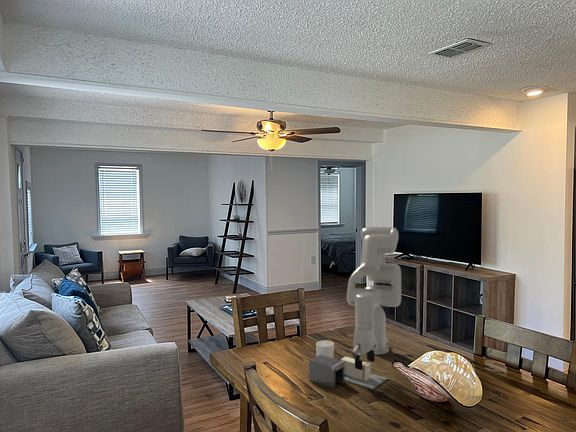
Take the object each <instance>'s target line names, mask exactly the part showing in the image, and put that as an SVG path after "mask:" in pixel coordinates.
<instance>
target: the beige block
mask: <svg viewBox="0 0 576 432" xmlns="http://www.w3.org/2000/svg"><path fill="white" fill-rule="evenodd" d="M339 360H341V361H345V376H351V377H354V378H357V379H361V380H364V381H367V380H368V379H370V378H371V374H372V371H371V370H372V366H371V365H372V363H371V362H367V361H364V360H362V368H363V369H362V370H359V369H356V368H355V359H354V357H353V358H352V357H350V356H344V357H342V358H341V359H339Z"/></svg>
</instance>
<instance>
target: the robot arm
mask: <svg viewBox="0 0 576 432" xmlns="http://www.w3.org/2000/svg"><path fill="white" fill-rule="evenodd" d="M360 237H361V241H362V244H361V253H360V254H361V257H360V265H359V266H358V267H357V268H356V269H355V270H354V271H353V272H352V273H351V275H350V277H349V279H348V282H347V288H346V289H347V291H346V301H347V304H348V305H349V306H352V307H354V308H355V310H354V311H355V312H354V314H355V315H354V317H355V318H354V319H355V322H354V323H355V326H354V327H355V329H354V333H353V342H352V343H353V344H352V346H353V349H352V351H351V352H352V357H353V359H355V368H356V369H359V370H362V369H363V368H362V361H363V356H364V355H365V354H366V360H367V361H369V362H370V363H371V362H372V363H375V360H376V359H375V355H378V356H380V355H385V354H387V353H389V351H390V348H389V347H388V346H387V343H389V338H387V337H386V333H387V332H386V331H387V330H386V328H387V327H386V321H387V319H386V317H387V316H386V313H385V310H384V309H383V308H382V307H392V308H395V307H396V308H397V307H400V305H401V302H402V269H401V266H400V265H399V264H398V263H394V262H393V263H391V262H386V254H394V253H395V252H396V250H397V246H398V242H399V231H398V229H397V228H396V227H392V226H390V227H389V226H387V227H386V226H367V227H363V228H362V229H361V231H360ZM364 277H367V280H368V281H369V282H371V283H379V284H380V283H381V284H390V285H391V286H390V285H379V284H378V285H377V284H373V285H372V284H371V285H367V286H366V287H365V288H361V287H356V284H357V282H358V281H359V280H361V279H362V278H364Z"/></svg>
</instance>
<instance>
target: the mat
mask: <svg viewBox="0 0 576 432" xmlns="http://www.w3.org/2000/svg"><path fill="white" fill-rule="evenodd" d="M387 380H388V377H384V376H382V375H381V376H380V375H378V374H374V373H371V378H370V379H368V380H367V381H364V380H361V379H357V378H354V377H351V376H347V375H345V382H346V383H350V384H353V385H357V386H360V387H363V388H366V389H368V390H369V389H370V390H371V391H372V390H375V389H376V388H377V387H378V386H380V385H381V384H383V383H384V382H386V381H387Z"/></svg>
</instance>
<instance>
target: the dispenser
mask: <svg viewBox="0 0 576 432" xmlns="http://www.w3.org/2000/svg"><path fill="white" fill-rule="evenodd" d="M308 365H309V366H308V367H309V368H308V371H309V372H308V380H309V382H311V383H315V384H318V385H321V386H325V387H327V388H330V389H333V390H335V389H336V386H337V384H336V383H340V384H344V383H345V382H346V381H345V377H346V375H345V361H341V360H340V359H336V358H334V357H333V358H330V357H326V356H323V355H319V356H317V355H316V356H315V357H313V358H311V359H308Z"/></svg>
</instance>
